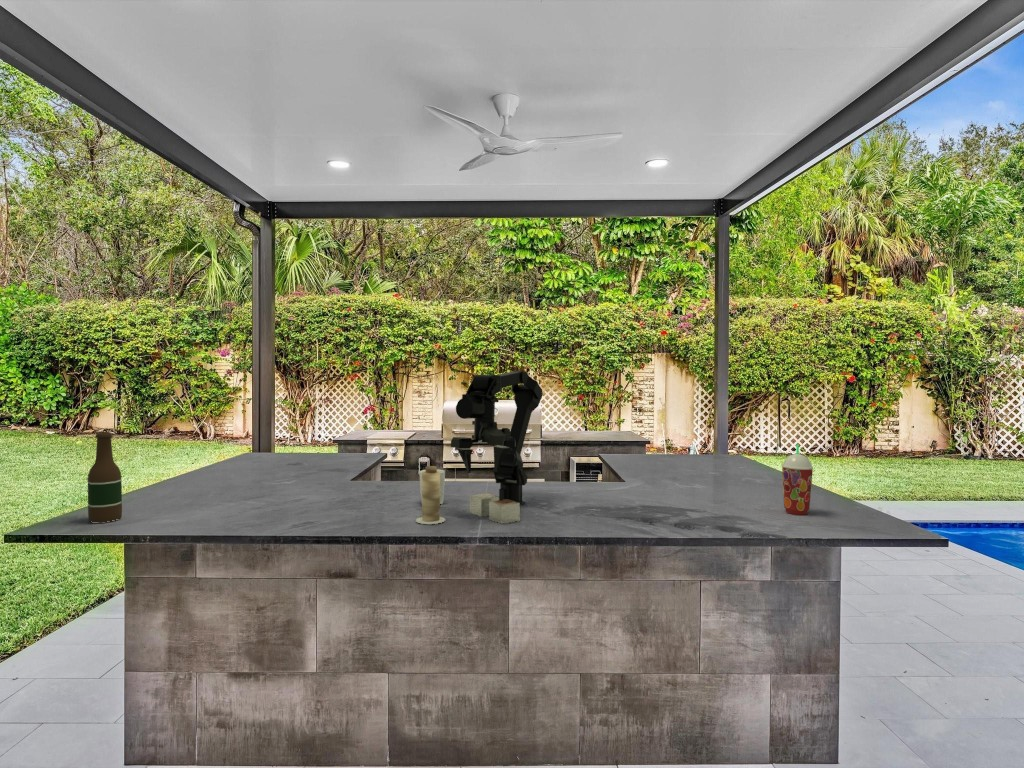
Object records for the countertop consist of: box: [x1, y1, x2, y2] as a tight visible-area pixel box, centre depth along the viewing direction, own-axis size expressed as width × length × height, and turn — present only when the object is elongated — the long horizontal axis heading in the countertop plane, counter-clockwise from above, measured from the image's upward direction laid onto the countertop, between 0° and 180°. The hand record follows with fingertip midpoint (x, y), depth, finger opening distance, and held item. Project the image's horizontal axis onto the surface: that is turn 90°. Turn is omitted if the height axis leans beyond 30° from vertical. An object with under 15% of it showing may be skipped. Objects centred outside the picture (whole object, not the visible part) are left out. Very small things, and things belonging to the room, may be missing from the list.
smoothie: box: [781, 444, 814, 516], centre depth 182 cm, size 8×8×20 cm
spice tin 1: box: [469, 492, 499, 518], centre depth 180 cm, size 6×6×5 cm
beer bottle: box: [87, 431, 123, 522], centre depth 170 cm, size 8×8×24 cm
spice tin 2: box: [488, 499, 521, 525], centre depth 172 cm, size 6×6×5 cm
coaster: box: [415, 516, 446, 525], centre depth 170 cm, size 8×8×1 cm
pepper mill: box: [421, 465, 441, 522], centre depth 170 cm, size 5×5×14 cm
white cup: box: [418, 468, 446, 505], centre depth 192 cm, size 8×8×10 cm
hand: (482, 472), depth 179 cm, fingers open, 9 cm apart
